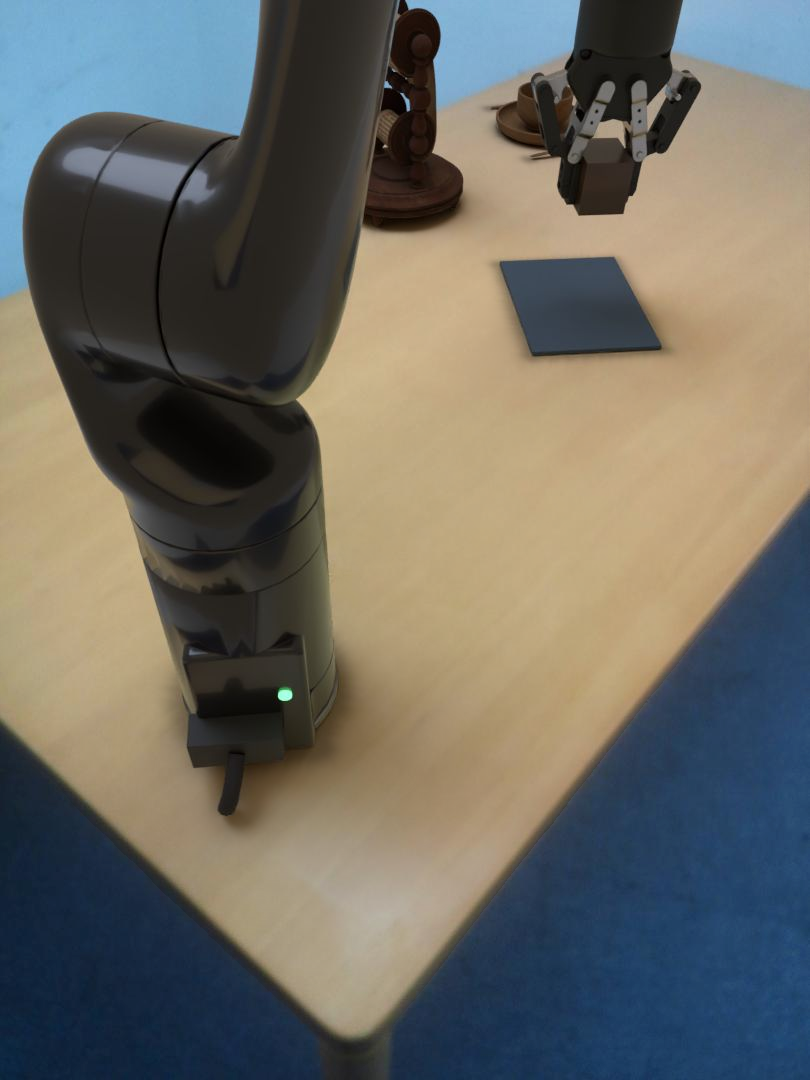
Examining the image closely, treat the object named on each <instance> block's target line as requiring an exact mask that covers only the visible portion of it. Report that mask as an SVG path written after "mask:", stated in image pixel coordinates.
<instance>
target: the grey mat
mask: <svg viewBox="0 0 810 1080" xmlns="http://www.w3.org/2000/svg"><path fill="white" fill-rule="evenodd" d="M615 257H616V256H599V257H597V256H595V257H573V258H572V257H571V258H545V259H519V260H500V261H499V267H500V269H501V273H502V275H503V278H504V281H505V284H506V287H507V290H508V292H509V296H510V298H511V301H512V303H513V306H514V309H515V311H516V314H517V317H518V320H519V323H520V326H521V328H522V331H523V335H524V337H525V340H526V342H527V345H528V348H529V351H530V354H531V356H548V355H549V356H550V355H552V356H553V355H571V354H573V355H574V354H589V353H590V354H591V353H607V352H608V353H609V352H610V353H611V352H630V351H650V350H651V351H652V350H661V349H662V347H663V346H662V343H661V341H660V340H659V337H658V336H657V334H656V332H655V330H654V328H653V327H652V325H651V323H650V321H649V319H648V317H647V315H646V313H645V312H644V309H643V307H642V305H641V303H640V302H639V300H638V298H637V297H636V295H635V293H634V291H633V289H632V287H631V286H630V283H629V282H628V280H627V278H626V276H625V274H624V272H623V271H622V268H621V267H620V265H619V262H617V259H616V258H615Z"/></svg>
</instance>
